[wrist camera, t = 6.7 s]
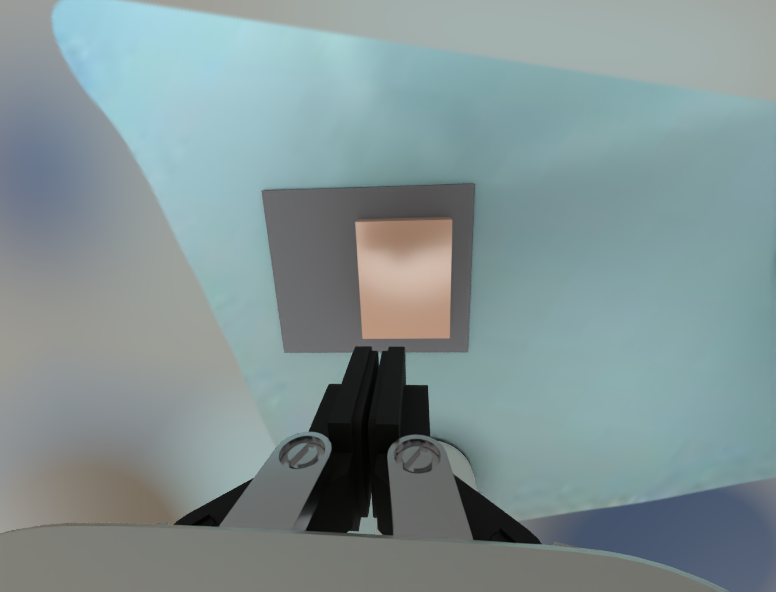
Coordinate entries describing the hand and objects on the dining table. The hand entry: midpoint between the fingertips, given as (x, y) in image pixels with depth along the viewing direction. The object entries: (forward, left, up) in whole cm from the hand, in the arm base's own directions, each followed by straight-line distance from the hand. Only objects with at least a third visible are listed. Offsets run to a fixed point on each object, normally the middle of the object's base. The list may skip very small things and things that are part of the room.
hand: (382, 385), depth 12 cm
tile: (+2, 0, -13) cm, 13 cm away
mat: (+2, 0, -14) cm, 14 cm away
